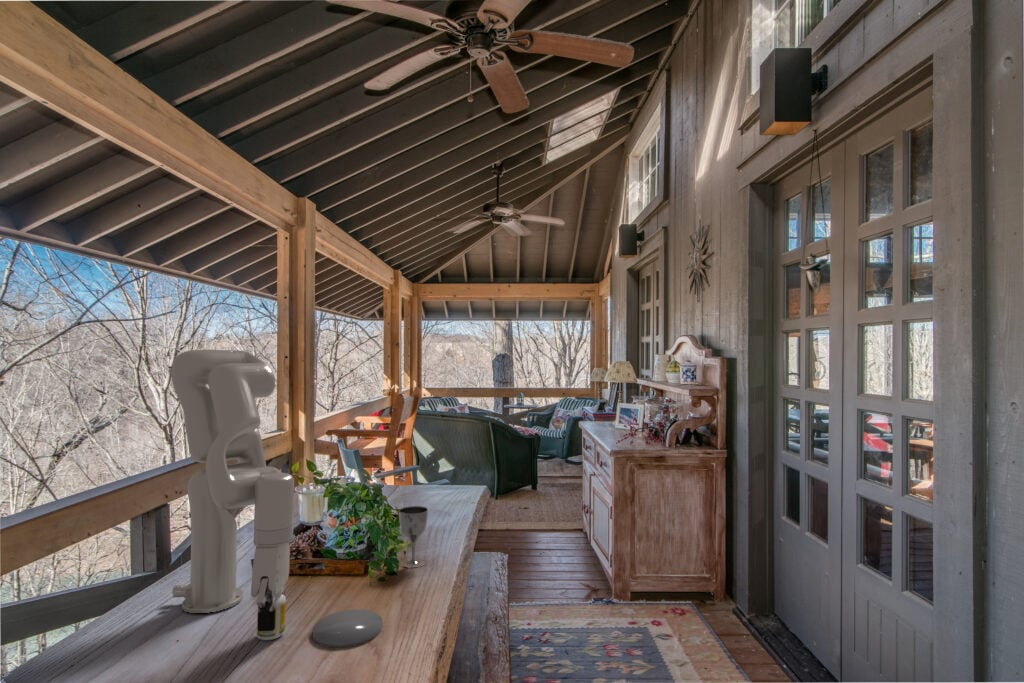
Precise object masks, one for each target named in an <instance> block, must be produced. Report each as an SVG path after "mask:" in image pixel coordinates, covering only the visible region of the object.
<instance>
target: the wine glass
mask: <svg viewBox="0 0 1024 683" xmlns="http://www.w3.org/2000/svg"><path fill="white" fill-rule="evenodd" d="M428 512H429V511H428V507H426V506H422V505H420V506H419V505H411V506H405V507H402V508H399V511H398V518H399V519H398V520H399V527H400V530H401V532H402V533H403V535H404V536H405V537H406V538H407V540H408V542H409V543H410V547H411V560H409V559H407V560H408V561H406V562H405V563H406V564H407V565H408V564H409V565H415V564H418V563H419V562H420V561H419V560H416V559H417V558H415V557H416V556H415V555H416V552H415V551H416V544H417V541H418V540H419V538H420V537H421V535H423V533H424V531H426V527H427V524H428V517H429V516H428V515H429V513H428Z"/></svg>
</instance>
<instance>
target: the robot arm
mask: <svg viewBox="0 0 1024 683" xmlns="http://www.w3.org/2000/svg"><path fill="white" fill-rule="evenodd" d="M170 375H171V381H172V386H173V389H174V392H175V394H176V396H177V398H178V401H179V402H180V405H181V408H182V411H183V417H184V424H185V431H186V432H185V433H186V438H187V446H188V450H189V454H190V456H191V459H192V460H193V461H195V462H197V463H198V464H199V463H201V464H205V468H203V469H201V470H198V471H196V472H195V473H194V474H192V475H191V477H190V478H189V480H188V482H187V488H186V489H187V497H188V503H189V510H190V525H191V526H190V527H191V528H190V530H191V534H190V535H191V537H190V538H191V540H190V541H191V542H190V573H189V574H190V576H189V577H190V582H189V583H188V584H187V585H185V584H184V585H183V584H181V585H180V584H178V585H174V586H173V588H172V597H173V598H184V600H183V601H182V603H181V609H182V611H183V610H184V611H183V612H185V613H187V612H189V613H188V614H190V613H207V612H213V611H218V612H220V611H219V610H222V611H224V610H223V609H225V610H228V609H230V608H232V607H234V606H236V605H238V604H239V603H240V602H241V601H242V600H243V599H244V592H243V591H244V590H242V589H240V588H239V587H237V560H238V559H237V556H238V555H237V554H238V553H237V551H238V550H237V549H238V522H237V521H236V519H235V517H234V516H233V515H232V514H231V513H230V512H229V511H228V510H232V509H233V510H234V509H239V508H244V507H248V506H253V505H254V515H253V518H254V520H253V546H255V549H254V555H253V562H252V571H251V572H252V573H251V574H252V575H251V586H250V587H251V589H250V596H251V597H252V598H256V597H257V599H256V605H257V613H258V631H273V630H274V629H275V610H276V609H274V602H275V595H276V594H277V593H278V592H279V591H280V590H281V588H282V587H283V592H282V594H283V595H284V596H285V594H286V585H285V584H286V583H287V582H288V580H289V579H288V578H289V576H290V558H291V557H290V556H291V555H290V543H292V542H293V541H294V515H295V514H294V510H295V508H294V507H295V506H294V505H295V478H294V477H293V475H291V474H290V473H287V472H282V471H281V470H279V469H278V468H276V466H275V467H274V466H267V463H266V462H267V461H266V458H265V457H266V456H265V452H264V451H265V450H264V446H263V439H262V435H261V433H260V430H259V427H260V425H261V423H262V422H261V416H260V413H259V410H258V406H257V403H256V398H257V399H259V398H260V399H261V398H268V397H269V396H271V395H272V394H273V392H274V391H275V388H276V378H275V375H274V372H273V370H272V369H271V367H270V365H269V364H268V363H266V362H265V361H263V360H262V359H260V358H258V357H257V356H256V355H254V354H252V353H250V352H249V351H245V350H238V349H237V350H235V349H234V350H233V349H232V350H230V349H223V350H222V349H193V350H192V349H191V350H187V351H183V352H181V353H179V354H178V355H176V356H175V358H174V360H173V361H172V363H171V373H170ZM206 385H208V387H207V386H206ZM231 460H236V461H237V462H238V463H232V464H228V463H227V461H231ZM267 591H272V593H271V594H267ZM266 598H271V599H270V603H269V601H266ZM229 607H230V608H229ZM227 608H228V609H227Z"/></svg>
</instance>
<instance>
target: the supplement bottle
mask: <svg viewBox="0 0 1024 683" xmlns="http://www.w3.org/2000/svg"><path fill="white" fill-rule="evenodd" d="M282 592H283V587H282V588H281V590H280V591H279V592H278V593H277V594H276V595H275V602H274V609H276V610H275V629H274V630H273V631H258V612H256V613H257V617H256V618H257V620H256V621H257V622H256V637H257V638H258V639H259V640H261V641H272V640H275V639H278V638H279V637H282V636H283V635H284V634H285V631H286V611H287V610H286V608H287V607H286V606H287V604H286V603H287V597H286V596H285V594H284V595H283V594H282ZM271 593H272V591H267V594H271ZM270 599H271V598H266V601H269V603H270Z"/></svg>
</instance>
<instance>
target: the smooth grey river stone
mask: <svg viewBox="0 0 1024 683" xmlns="http://www.w3.org/2000/svg"><path fill="white" fill-rule="evenodd" d="M382 630H383V618H382V616H381V615H380V614H379V613H377V612H375V611H373V610H369V609H361V608H360V609H358V608H357V609H356V608H355V609H346V610H341V611H336V612H333V613H330V614H328V615H326V616H324V617H322V618H321V619H319V620H318V621H317V622H315V624H314V626H313V629H312V637H313V638H312V639H313V640H314V641H315V643H317V644H318V643H319V644H318V645H320V644H321V646H323V647H326V646H327V648H341V649H342V648H349V646H350V647H354V645H355V646H359V645H363V644H364V643H367V642H370V641H371V640H373V639H374V638H376V637H377V636H379V635H380V633H381V632H382Z"/></svg>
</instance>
